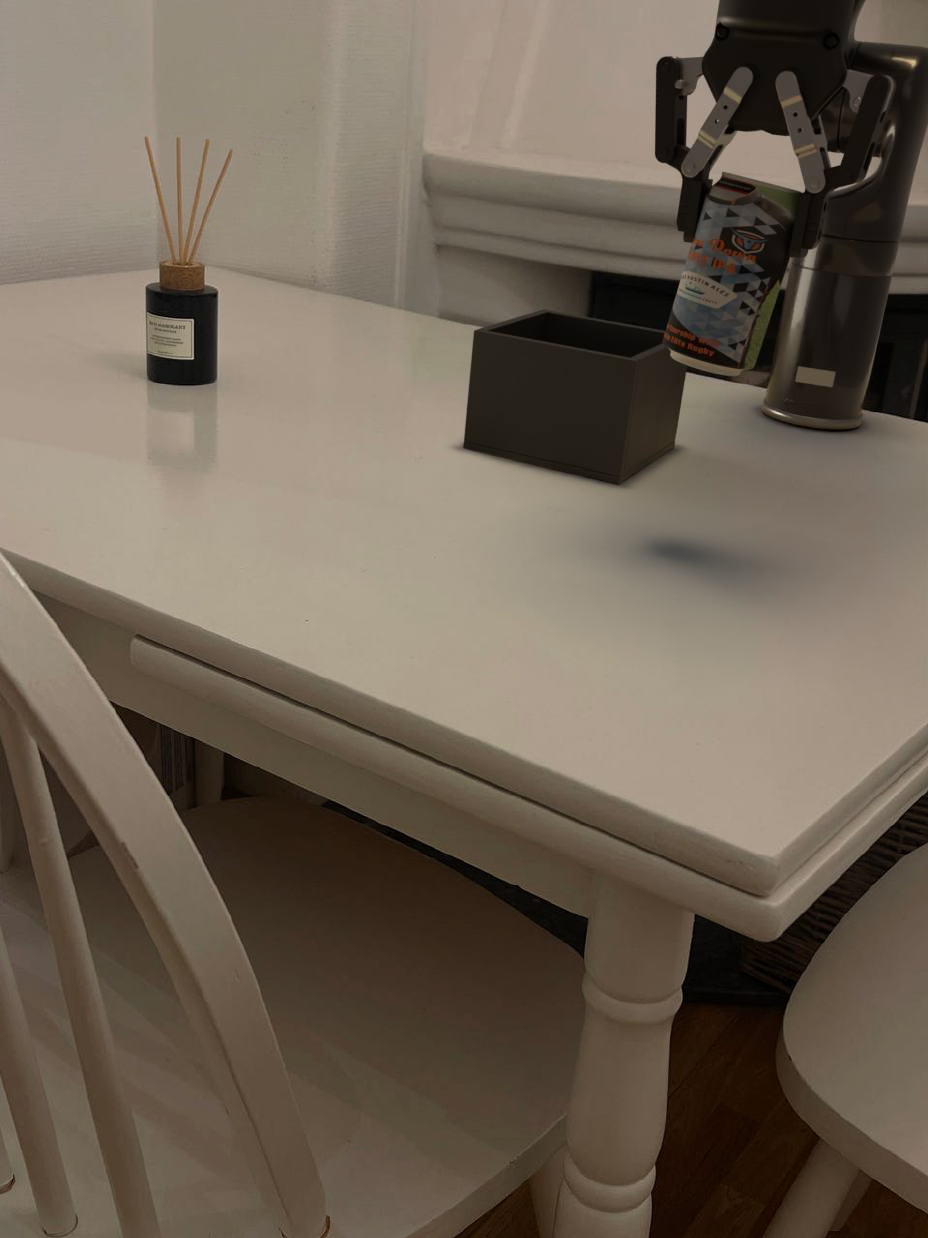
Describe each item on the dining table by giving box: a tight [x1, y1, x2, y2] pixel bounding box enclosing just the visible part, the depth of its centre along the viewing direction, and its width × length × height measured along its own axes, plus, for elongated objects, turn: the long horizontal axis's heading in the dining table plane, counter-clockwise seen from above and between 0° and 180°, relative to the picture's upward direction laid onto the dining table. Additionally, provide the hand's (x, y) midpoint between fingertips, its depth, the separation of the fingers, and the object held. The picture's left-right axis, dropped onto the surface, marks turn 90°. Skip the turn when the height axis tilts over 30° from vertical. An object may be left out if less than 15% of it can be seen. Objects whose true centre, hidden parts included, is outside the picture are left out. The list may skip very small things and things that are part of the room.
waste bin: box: [462, 308, 688, 485], centre depth 104 cm, size 14×14×10 cm
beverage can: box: [663, 171, 802, 377], centre depth 78 cm, size 6×7×12 cm
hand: (744, 247), depth 77 cm, fingers closed on beverage can, 6 cm apart
